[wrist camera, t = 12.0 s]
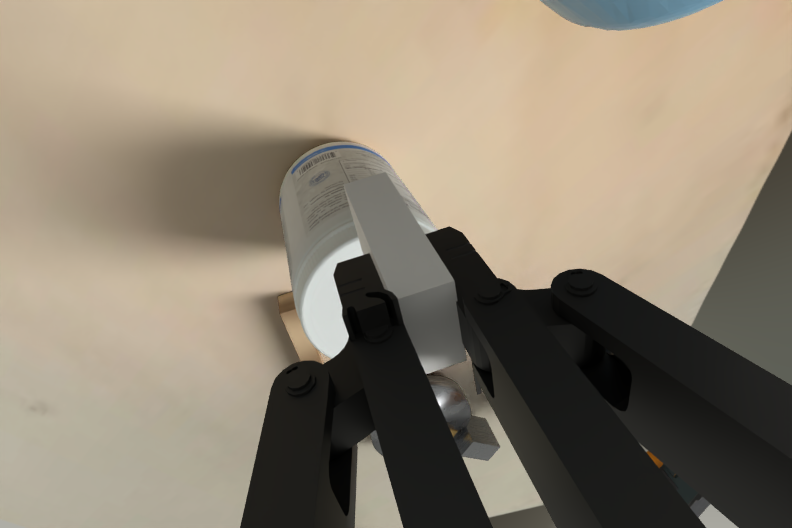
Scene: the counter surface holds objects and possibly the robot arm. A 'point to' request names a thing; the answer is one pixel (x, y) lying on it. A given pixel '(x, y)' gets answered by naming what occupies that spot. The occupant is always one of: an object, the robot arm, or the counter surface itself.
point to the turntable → (459, 421)
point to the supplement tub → (328, 232)
